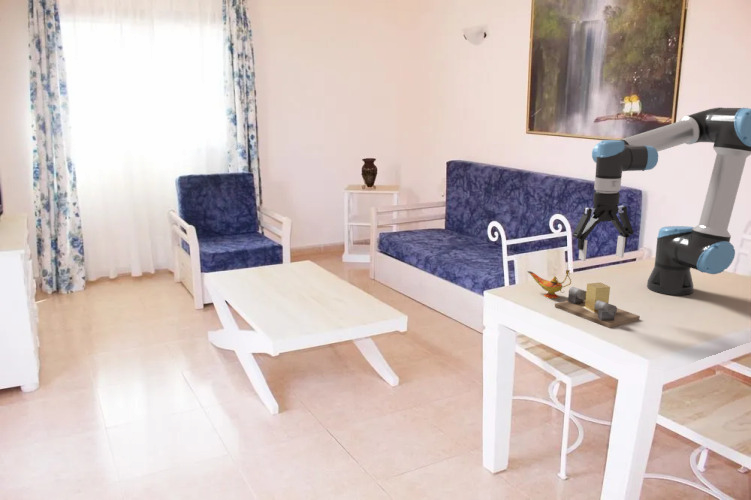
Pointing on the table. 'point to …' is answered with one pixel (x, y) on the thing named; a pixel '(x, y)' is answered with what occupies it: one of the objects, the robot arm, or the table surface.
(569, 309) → the shaft bench
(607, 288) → the block
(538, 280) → the magic lamp
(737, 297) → the table surface
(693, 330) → the table surface
